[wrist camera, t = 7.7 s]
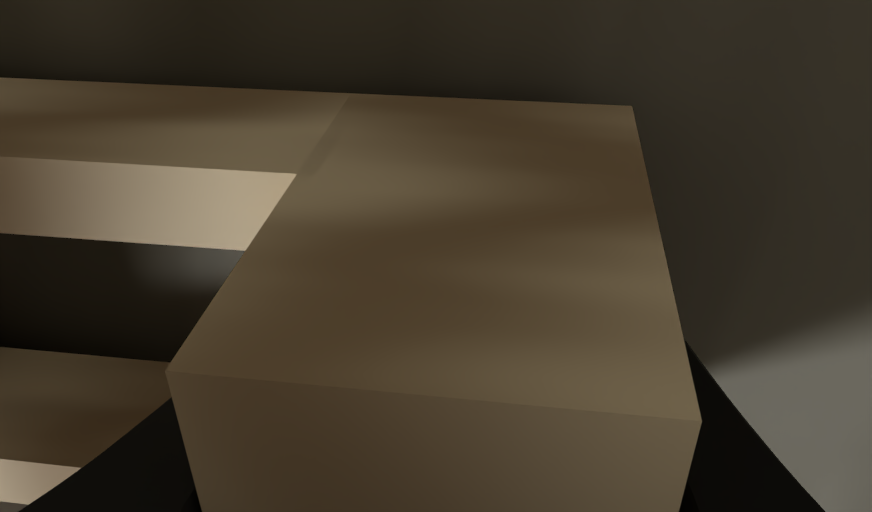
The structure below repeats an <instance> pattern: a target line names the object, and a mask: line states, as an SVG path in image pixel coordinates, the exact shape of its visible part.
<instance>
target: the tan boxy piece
mask: <svg viewBox="0 0 872 512" xmlns="http://www.w3.org/2000/svg"><path fill="white" fill-rule="evenodd" d="M0 233H7V234H21V235H35V236H49V237H63V238H76V239H90V240H104V241H118V242H132V243H146V244H159V245H173V246H187V247H201V248H215V249H229V250H243V251H245V252H244V254H243V255H242V257H241V258H240V260H239V261H238V263H237V264H236V266H235V267H234V269H233V270H232V272H231V273H230V275H229V276H228V278H227V279H226V280H225V282H224V283H223V285H222V286H221V288H220V289H219V291H218V292H217V294H216V295H215V297H214V298H213V300H212V301H211V303H210V304H209V306H208V307H207V309H206V310H205V312H204V313H203V315H202V316H201V318H200V319H199V321H198V322H197V324H196V325H195V327H194V328H193V330H192V331H191V333H190V334H189V336H188V337H187V339H186V340H185V342H184V343H183V345H182V346H181V348H180V349H179V351H178V352H177V354H176V355H175V357H174V358H173V359H172V361H171V362H159V361H148V360H137V359H126V358H115V357H105V356H94V355H83V354H72V353H61V352H50V351H40V350H29V349H18V348H7V347H0V501H2V502H11V503H19V504H27V505H29V504H30V503H32V502H33V501H35V500H36V499H38V498H39V497H41V496H42V495H44V494H45V493H47V492H48V491H50V490H51V489H53V488H54V487H55V486H57V485H58V484H60V483H61V482H63V481H64V480H65V479H67V478H68V477H70V476H71V475H72V474H74V473H75V472H77V471H78V470H79V469H81V468H82V467H84V466H85V465H86V464H88V463H89V462H90V461H92V460H93V459H94V458H96V457H97V456H98V455H100V454H101V453H102V452H104V451H105V450H106V449H107V448H109V447H110V446H111V445H112V444H114V443H115V442H116V441H117V440H119V439H120V438H121V437H122V436H124V435H125V434H126V433H128V432H129V431H130V430H131V429H133V428H134V427H135V426H136V425H138V424H139V423H140V422H141V421H143V420H144V419H145V418H146V417H148V416H149V415H150V414H151V413H153V412H154V411H155V410H156V409H158V408H159V407H160V406H161V405H162V404H164V403H165V402H166V401H167V400H168V399H169V398H171V397H172V400H173V404H174V407H175V411H176V415H177V419H178V423H179V426H180V430H181V434H182V438H183V442H184V445H185V449H186V453H187V457H188V461H189V464H190V468H191V472H192V476H193V479H194V483H195V487H196V491H197V495H198V498H199V502H200V506H201V510H202V512H679V509H680V505H681V501H682V497H683V493H684V489H685V485H686V482H687V478H688V474H689V470H690V466H691V462H692V458H693V454H694V450H695V447H696V443H697V439H698V435H699V431H700V427H701V423H702V419H701V415H700V410H699V406H698V401H697V397H696V392H695V387H694V383H693V378H692V374H691V369H690V365H689V360H688V356H687V351H686V347H685V342H684V338H683V333H682V329H681V324H680V320H679V315H678V311H677V306H676V302H675V297H674V293H673V288H672V284H671V279H670V275H669V270H668V266H667V261H666V257H665V252H664V248H663V243H662V239H661V234H660V230H659V225H658V221H657V216H656V212H655V207H654V203H653V198H652V194H651V189H650V185H649V180H648V176H647V171H646V167H645V162H644V158H643V153H642V148H641V144H640V139H639V135H638V130H637V126H636V121H635V117H634V112H633V108H632V106H623V105H601V104H578V103H556V102H534V101H512V100H489V99H467V98H445V97H423V96H400V95H378V94H356V93H333V92H311V91H289V90H267V89H244V88H222V87H200V86H178V85H155V84H133V83H111V82H89V81H66V80H44V79H22V78H0Z"/></svg>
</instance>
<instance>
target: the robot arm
mask: <svg viewBox="0 0 872 512" xmlns="http://www.w3.org/2000/svg"><path fill="white" fill-rule="evenodd" d="M684 342H685V347H686V351H687V356H688V360H689V365H690V369H691V374H692V378H693V383H694V387H695V392H696V397H697V401H698V406H699V410H700V415H701V419H702V423H701V427H700V431H699V435H698V439H697V443H696V447H695V450H694V454H693V458H692V462H691V466H690V470H689V474H688V478H687V482H686V485H685V489H684V493H683V497H682V501H681V505H680V509H679V512H825V511H824V510H823V509H822V507H821V506H820V505H819V504H818V503H817V502H816V501H815V500H814V499H813V498H812V497H811V496H810V494H809V493H808V492H807V491H806V490H805V489H804V488H803V487H802V486H801V485H800V483H799V482H798V481H797V480H796V479H795V478H794V477H793V475H792V474H791V473H790V472H789V471H788V470H787V469H786V467H785V466H784V465H783V464H782V463H781V462H780V461H779V459H778V458H777V457H776V456H775V455H774V453H773V452H772V451H771V450H770V449H769V447H768V446H767V445H766V444H765V443H764V441H763V440H762V439H761V438H760V437H759V435H758V434H757V433H756V432H755V431H754V429H753V428H752V427H751V426H750V425H749V423H748V422H747V421H746V420H745V418H744V417H743V416H742V415H741V413H740V412H739V411H738V410H737V408H736V407H735V406H734V405H733V403H732V402H731V401H730V400H729V398H728V397H727V396H726V394H725V393H724V392H723V390H722V389H721V388H720V386H719V385H718V384H717V383H716V381H715V380H714V379H713V377H712V376H711V375H710V373H709V372H708V371H707V369H706V368H705V367H704V365H703V364H702V363H701V361H700V360H699V358H698V357H697V356H696V354H695V353H694V352H693V350H692V349H691V348H690V346H689V345H688V343H687V342H686V341H685V339H684ZM18 512H202V510H201V506H200V502H199V498H198V495H197V491H196V487H195V483H194V479H193V476H192V472H191V468H190V464H189V461H188V457H187V453H186V449H185V445H184V442H183V438H182V434H181V430H180V426H179V423H178V419H177V415H176V411H175V407H174V404H173V400H172V397H171V398H169V399H168V400H167V401H166V402H165V403H164V404H162V405H161V406H160V407H159V408H158V409H156V410H155V411H154V412H153V413H151V414H150V415H149V416H148V417H146V418H145V419H144V420H143V421H141V422H140V423H139V424H138V425H136V426H135V427H134V428H133V429H131V430H130V431H129V432H128V433H126V434H125V435H124V436H122V437H121V438H120V439H119V440H117V441H116V442H115V443H114V444H112V445H111V446H110V447H109V448H107V449H106V450H105V451H104V452H102V453H101V454H100V455H98V456H97V457H96V458H94V459H93V460H92V461H90V462H89V463H88V464H86V465H85V466H84V467H82V468H81V469H79V470H78V471H77V472H75V473H74V474H72V475H71V476H70V477H68V478H67V479H65V480H64V481H63V482H61V483H60V484H58V485H57V486H55V487H54V488H53V489H51V490H50V491H48V492H47V493H45V494H44V495H42V496H41V497H39V498H38V499H36V500H35V501H33V502H32V503H30V504H29V505H27V506H26V507H24V508H23V509H21V510H20V511H18Z"/></svg>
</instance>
